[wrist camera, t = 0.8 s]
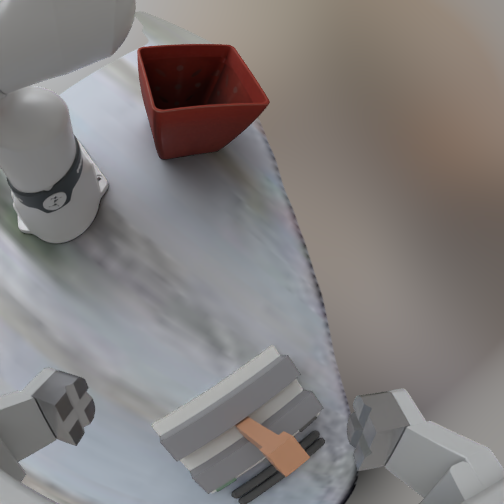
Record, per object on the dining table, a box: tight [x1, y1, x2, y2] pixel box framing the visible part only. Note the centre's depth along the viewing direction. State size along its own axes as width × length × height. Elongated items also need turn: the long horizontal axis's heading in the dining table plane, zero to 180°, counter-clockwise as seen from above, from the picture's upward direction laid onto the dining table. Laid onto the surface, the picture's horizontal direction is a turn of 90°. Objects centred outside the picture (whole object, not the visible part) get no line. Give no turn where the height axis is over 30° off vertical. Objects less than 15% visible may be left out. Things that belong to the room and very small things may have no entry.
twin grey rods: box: [231, 431, 325, 504], centre depth 39 cm, size 4×20×2 cm, turn 125°
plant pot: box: [137, 44, 270, 159], centre depth 47 cm, size 19×19×17 cm
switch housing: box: [151, 345, 323, 494], centre depth 39 cm, size 16×24×4 cm
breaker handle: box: [234, 416, 310, 477], centre depth 32 cm, size 4×4×16 cm
